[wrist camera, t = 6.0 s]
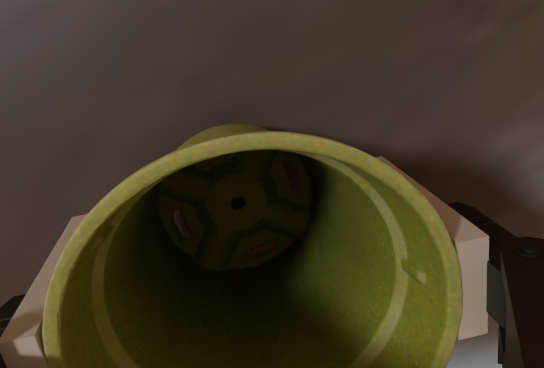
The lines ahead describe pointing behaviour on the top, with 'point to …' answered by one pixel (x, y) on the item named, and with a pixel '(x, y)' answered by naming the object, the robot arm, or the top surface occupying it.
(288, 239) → the plant pot
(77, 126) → the top surface
